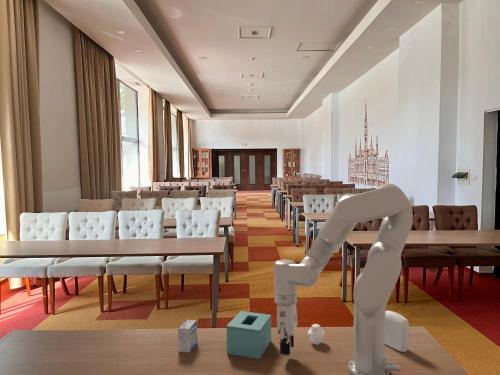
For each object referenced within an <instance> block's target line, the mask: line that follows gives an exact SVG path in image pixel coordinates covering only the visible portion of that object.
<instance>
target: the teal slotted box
mask: <svg viewBox="0 0 500 375" xmlns="http://www.w3.org/2000/svg"><path fill="white" fill-rule="evenodd" d="M271 342H272V314H269V313H268V314H266V313H260V312H259V313H258V312H254V311H253V312H251V311H243V310H240V311H239V312H238V313H237V314H236V315H235V316H234V318H232V319H231V321H230V322H228V324H227V325H226V355H233V356H237V357H245V358H250V359H257V360H260V359H261V358H262V357H263V355H264V353H265V352H266V351H267V349H268V347H269V346H268V345H270V344H271ZM269 343H270V344H269ZM267 346H268V347H267ZM266 348H267V349H266Z"/></svg>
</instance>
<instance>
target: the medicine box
mask: <svg viewBox="0 0 500 375" xmlns="http://www.w3.org/2000/svg"><path fill="white" fill-rule="evenodd" d="M177 335H178V336H177V338H178V340H177V341H178V352H179V353H189V354H191V352H192V351H193V349H194V348H195V346H196V345H197V344H198V320H196V319H195V320H194V319H186V320H184V322H183V323H182V324H181V325H180V326H179V327H178V328H177Z"/></svg>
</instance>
